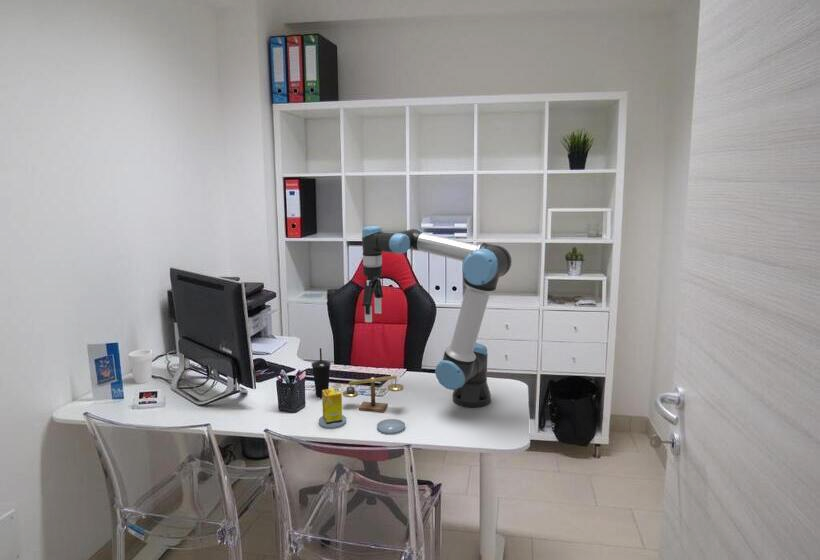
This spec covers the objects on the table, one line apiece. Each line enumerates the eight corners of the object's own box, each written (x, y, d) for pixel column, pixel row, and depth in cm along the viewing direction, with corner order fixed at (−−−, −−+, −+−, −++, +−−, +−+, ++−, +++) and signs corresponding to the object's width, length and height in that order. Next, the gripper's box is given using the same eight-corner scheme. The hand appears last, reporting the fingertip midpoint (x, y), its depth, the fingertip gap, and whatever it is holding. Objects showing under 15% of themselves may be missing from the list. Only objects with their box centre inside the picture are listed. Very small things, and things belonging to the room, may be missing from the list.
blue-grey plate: (407, 423, 210) (407, 420, 210) (401, 435, 200) (401, 432, 200) (381, 420, 212) (381, 417, 212) (373, 433, 202) (373, 429, 202)
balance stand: (387, 406, 225) (387, 379, 222) (383, 412, 219) (383, 384, 217) (363, 404, 227) (362, 377, 225) (358, 410, 221) (357, 382, 219)
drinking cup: (328, 399, 231) (326, 352, 227) (310, 398, 233) (307, 350, 229) (334, 392, 239) (332, 346, 235) (316, 391, 240) (314, 345, 236)
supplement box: (322, 418, 212) (321, 389, 210) (338, 415, 214) (337, 387, 212) (326, 424, 207) (325, 395, 204) (342, 421, 209) (341, 393, 207)
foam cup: (127, 381, 252) (124, 353, 250) (148, 375, 259) (145, 348, 257) (137, 387, 246) (134, 357, 244) (159, 380, 253) (156, 352, 251)
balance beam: (405, 395, 222) (405, 373, 220) (401, 401, 216) (401, 379, 215) (345, 390, 227) (345, 369, 226) (340, 396, 222) (340, 374, 220)
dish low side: (350, 418, 215) (350, 414, 214) (341, 429, 205) (340, 426, 205) (324, 415, 217) (324, 412, 217) (314, 427, 207) (314, 424, 207)
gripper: (372, 260, 241) (373, 309, 246) (353, 270, 218) (354, 325, 222) (389, 260, 240) (390, 310, 244) (372, 271, 216) (373, 326, 220)
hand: (373, 317), depth 233 cm, fingers open, 13 cm apart
